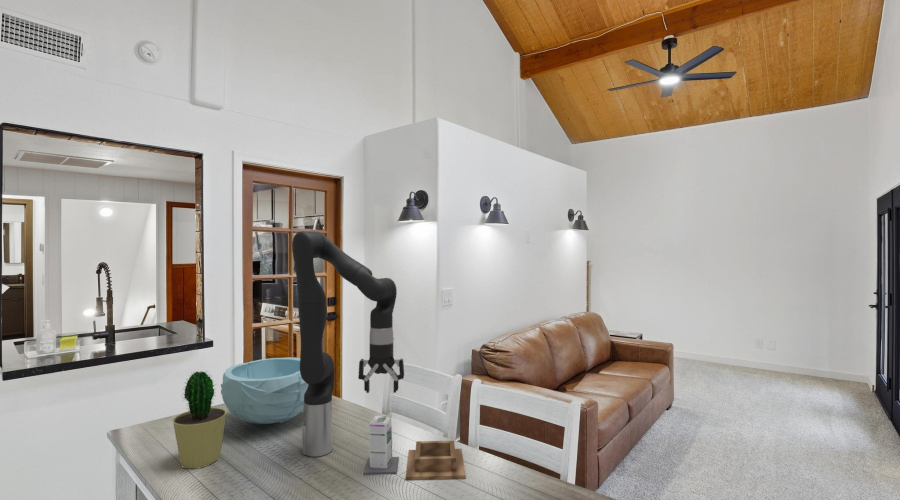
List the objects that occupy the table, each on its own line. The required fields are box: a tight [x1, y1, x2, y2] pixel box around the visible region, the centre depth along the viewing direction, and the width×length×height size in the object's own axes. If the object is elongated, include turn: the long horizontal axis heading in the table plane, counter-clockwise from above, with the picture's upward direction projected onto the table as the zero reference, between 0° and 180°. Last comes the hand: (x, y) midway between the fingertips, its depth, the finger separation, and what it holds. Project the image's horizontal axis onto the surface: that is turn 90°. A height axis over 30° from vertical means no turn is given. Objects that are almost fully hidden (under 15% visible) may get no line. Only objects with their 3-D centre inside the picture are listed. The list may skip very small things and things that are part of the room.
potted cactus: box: [172, 370, 228, 469], centre depth 149 cm, size 15×15×30 cm
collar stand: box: [405, 440, 467, 481], centre depth 145 cm, size 18×18×5 cm
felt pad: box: [363, 456, 400, 475], centre depth 145 cm, size 10×10×1 cm
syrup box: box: [368, 415, 393, 469], centre depth 145 cm, size 6×6×14 cm
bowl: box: [220, 356, 308, 425], centre depth 181 cm, size 35×35×22 cm
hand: (381, 392), depth 144 cm, fingers open, 8 cm apart
